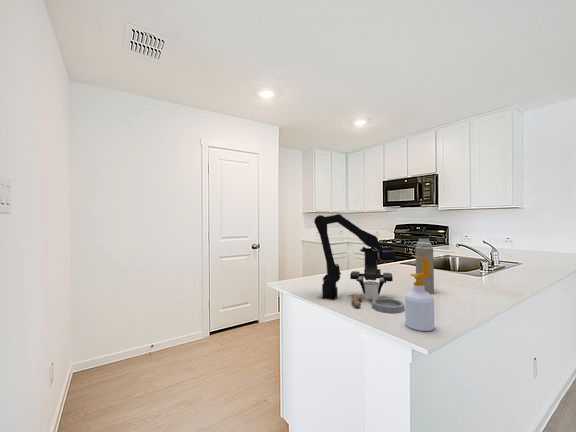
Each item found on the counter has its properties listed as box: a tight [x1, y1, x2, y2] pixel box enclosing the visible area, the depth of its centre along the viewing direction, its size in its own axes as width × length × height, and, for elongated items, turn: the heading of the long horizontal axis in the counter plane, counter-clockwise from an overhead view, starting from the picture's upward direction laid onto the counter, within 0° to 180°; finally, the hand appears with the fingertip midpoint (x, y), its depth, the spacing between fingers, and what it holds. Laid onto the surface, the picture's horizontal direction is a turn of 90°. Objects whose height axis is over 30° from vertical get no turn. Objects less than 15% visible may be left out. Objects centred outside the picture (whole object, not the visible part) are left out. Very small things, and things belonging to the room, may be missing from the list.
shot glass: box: [364, 280, 379, 300], centre depth 128 cm, size 7×7×7 cm
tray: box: [371, 297, 405, 314], centre depth 113 cm, size 12×12×2 cm
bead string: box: [351, 294, 363, 309], centre depth 118 cm, size 11×4×3 cm, turn 161°
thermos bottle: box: [414, 235, 435, 295], centre depth 135 cm, size 8×8×28 cm
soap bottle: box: [404, 254, 436, 332], centre depth 94 cm, size 9×9×25 cm
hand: (371, 294), depth 127 cm, fingers closed on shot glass, 6 cm apart
